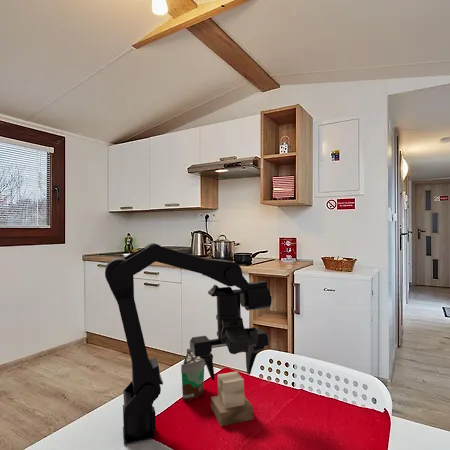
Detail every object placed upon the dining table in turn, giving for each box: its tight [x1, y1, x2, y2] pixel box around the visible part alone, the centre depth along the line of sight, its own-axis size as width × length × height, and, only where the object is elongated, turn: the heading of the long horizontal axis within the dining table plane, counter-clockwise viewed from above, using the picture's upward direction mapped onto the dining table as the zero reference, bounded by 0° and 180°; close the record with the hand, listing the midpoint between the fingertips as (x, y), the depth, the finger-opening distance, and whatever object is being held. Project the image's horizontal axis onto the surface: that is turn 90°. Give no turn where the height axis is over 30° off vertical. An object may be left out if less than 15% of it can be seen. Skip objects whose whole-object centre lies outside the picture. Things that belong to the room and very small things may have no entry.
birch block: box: [217, 371, 245, 409], centre depth 84 cm, size 5×5×6 cm
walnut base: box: [210, 395, 254, 427], centre depth 84 cm, size 8×8×3 cm
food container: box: [180, 348, 207, 402], centre depth 96 cm, size 12×6×10 cm, turn 179°
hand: (231, 376), depth 84 cm, fingers open, 9 cm apart
